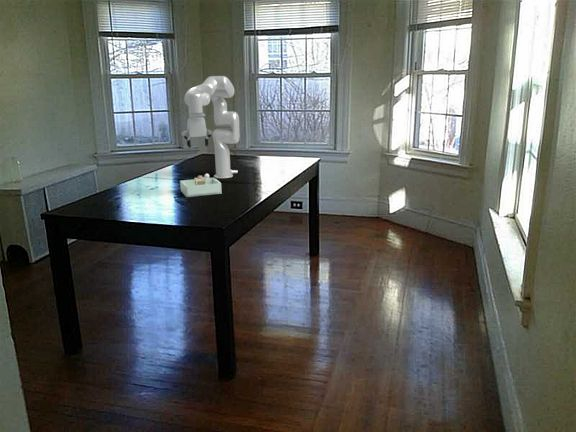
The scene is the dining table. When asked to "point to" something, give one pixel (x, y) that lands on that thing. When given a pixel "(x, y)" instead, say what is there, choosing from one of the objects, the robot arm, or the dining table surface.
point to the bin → (200, 187)
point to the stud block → (208, 176)
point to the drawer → (200, 180)
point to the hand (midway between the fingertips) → (198, 146)
